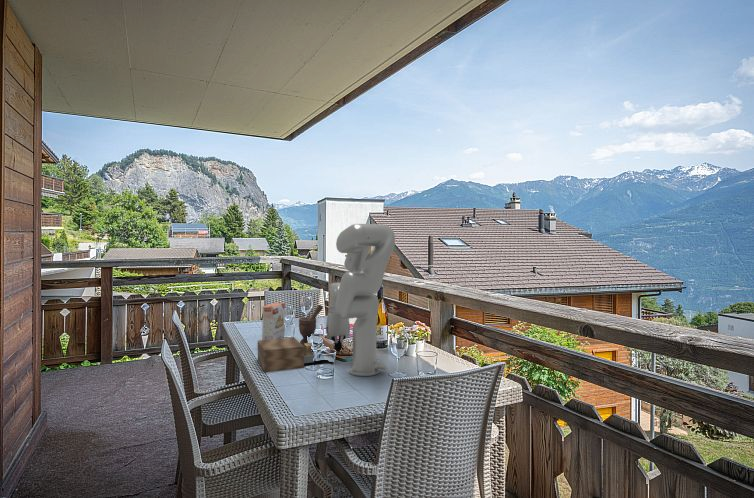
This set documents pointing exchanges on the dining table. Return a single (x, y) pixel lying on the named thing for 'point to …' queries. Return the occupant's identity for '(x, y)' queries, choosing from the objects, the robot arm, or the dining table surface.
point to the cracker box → (273, 321)
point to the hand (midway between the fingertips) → (338, 350)
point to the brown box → (280, 354)
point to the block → (307, 349)
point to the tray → (326, 343)
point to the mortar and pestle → (308, 325)
